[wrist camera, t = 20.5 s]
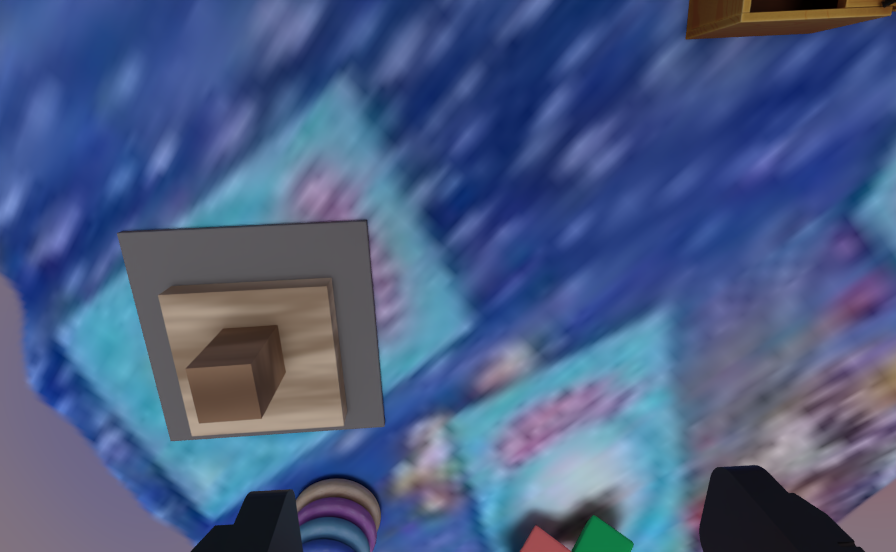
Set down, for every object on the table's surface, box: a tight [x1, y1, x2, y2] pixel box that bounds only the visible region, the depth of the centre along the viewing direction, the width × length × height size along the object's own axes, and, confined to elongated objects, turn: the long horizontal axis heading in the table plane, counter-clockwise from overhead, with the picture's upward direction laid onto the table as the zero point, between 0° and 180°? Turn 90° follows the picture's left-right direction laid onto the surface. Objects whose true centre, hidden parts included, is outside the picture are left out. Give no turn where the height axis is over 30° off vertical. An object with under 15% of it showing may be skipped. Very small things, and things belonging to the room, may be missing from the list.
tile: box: [158, 278, 347, 436], centre depth 37 cm, size 2×12×12 cm
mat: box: [117, 220, 385, 441], centre depth 38 cm, size 18×18×1 cm
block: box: [186, 325, 286, 424], centre depth 33 cm, size 4×4×6 cm
